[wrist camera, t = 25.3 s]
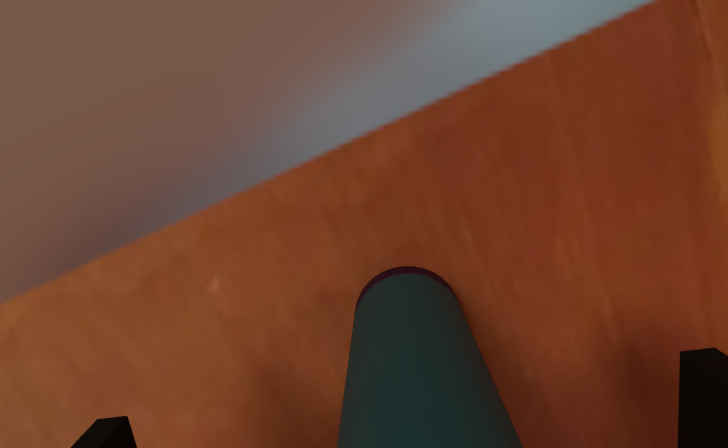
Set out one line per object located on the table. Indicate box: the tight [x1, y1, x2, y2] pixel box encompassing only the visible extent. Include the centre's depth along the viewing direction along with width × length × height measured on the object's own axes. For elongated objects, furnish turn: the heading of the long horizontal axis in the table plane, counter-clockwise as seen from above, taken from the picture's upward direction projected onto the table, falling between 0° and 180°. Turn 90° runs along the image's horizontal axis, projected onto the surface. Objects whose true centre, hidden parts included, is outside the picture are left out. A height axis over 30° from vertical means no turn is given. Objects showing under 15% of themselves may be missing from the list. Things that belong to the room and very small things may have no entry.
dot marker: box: [337, 266, 523, 448], centre depth 11 cm, size 4×4×11 cm
